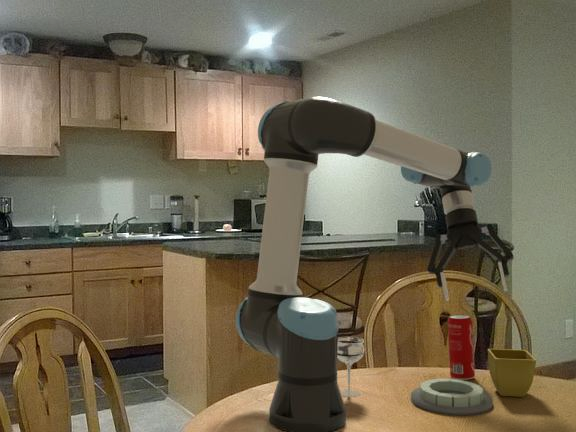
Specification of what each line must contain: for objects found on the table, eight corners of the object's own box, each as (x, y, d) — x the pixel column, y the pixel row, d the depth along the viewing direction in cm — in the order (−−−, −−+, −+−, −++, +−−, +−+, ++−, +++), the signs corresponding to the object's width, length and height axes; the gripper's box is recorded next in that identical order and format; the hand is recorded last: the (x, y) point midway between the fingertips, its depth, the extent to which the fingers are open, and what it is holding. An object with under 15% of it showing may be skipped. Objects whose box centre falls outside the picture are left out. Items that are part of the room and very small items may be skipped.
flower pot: (525, 388, 153) (526, 349, 152) (536, 400, 144) (537, 359, 144) (486, 387, 154) (487, 348, 153) (494, 399, 145) (495, 358, 144)
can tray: (423, 416, 134) (423, 401, 134) (402, 389, 151) (402, 376, 151) (505, 414, 136) (505, 399, 135) (475, 388, 153) (475, 375, 152)
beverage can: (475, 381, 157) (476, 319, 157) (447, 380, 159) (448, 317, 158) (473, 374, 163) (474, 314, 162) (446, 373, 165) (447, 312, 164)
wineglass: (369, 396, 147) (370, 342, 146) (341, 399, 144) (342, 344, 144) (355, 387, 153) (355, 335, 153) (328, 390, 151) (328, 338, 150)
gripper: (512, 207, 166) (531, 289, 157) (413, 227, 173) (426, 306, 165) (511, 196, 159) (530, 281, 151) (407, 217, 166) (420, 299, 158)
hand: (475, 295), depth 158 cm, fingers open, 13 cm apart
